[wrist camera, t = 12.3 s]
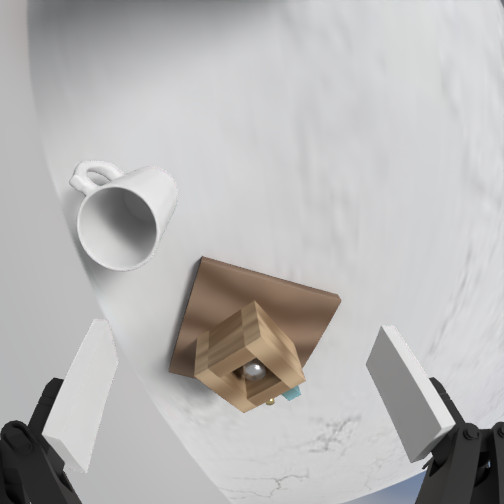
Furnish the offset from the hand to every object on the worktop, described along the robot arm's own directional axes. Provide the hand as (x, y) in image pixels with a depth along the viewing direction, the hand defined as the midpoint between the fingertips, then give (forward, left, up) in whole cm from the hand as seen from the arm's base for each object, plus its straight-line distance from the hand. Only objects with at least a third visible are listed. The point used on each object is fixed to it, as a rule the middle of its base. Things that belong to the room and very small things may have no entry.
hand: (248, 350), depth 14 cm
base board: (+15, +7, -22) cm, 27 cm away
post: (+15, +7, -20) cm, 26 cm away
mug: (0, -11, -22) cm, 24 cm away
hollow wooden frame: (+17, +9, -20) cm, 28 cm away
